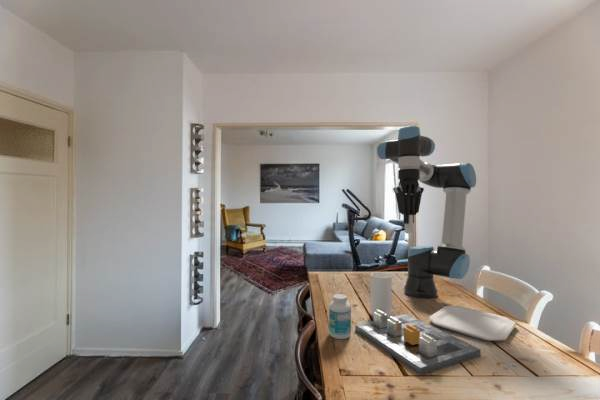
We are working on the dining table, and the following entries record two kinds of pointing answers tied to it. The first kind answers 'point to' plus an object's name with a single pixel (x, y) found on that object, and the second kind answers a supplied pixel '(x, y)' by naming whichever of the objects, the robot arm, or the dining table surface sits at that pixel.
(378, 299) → the cup
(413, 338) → the block
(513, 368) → the dining table surface
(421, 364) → the panel
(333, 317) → the pill bottle
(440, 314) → the plate
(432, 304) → the dining table surface
